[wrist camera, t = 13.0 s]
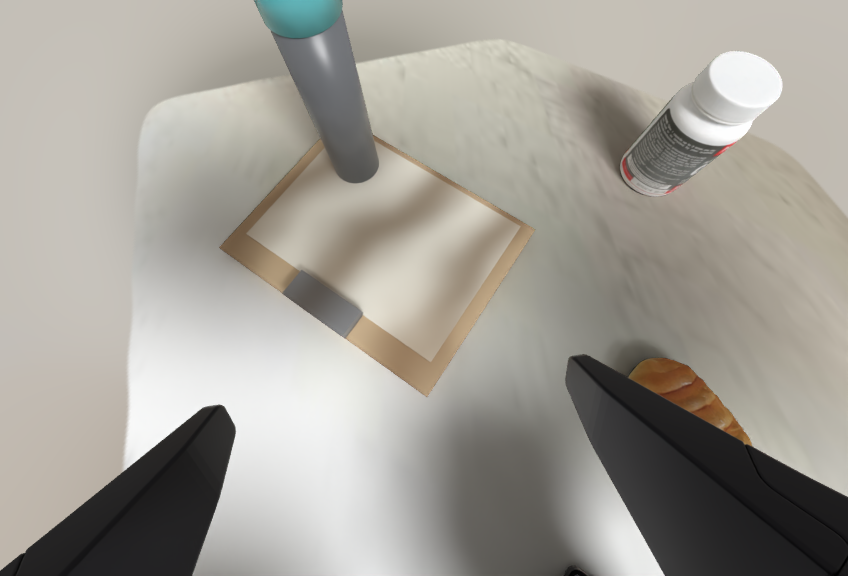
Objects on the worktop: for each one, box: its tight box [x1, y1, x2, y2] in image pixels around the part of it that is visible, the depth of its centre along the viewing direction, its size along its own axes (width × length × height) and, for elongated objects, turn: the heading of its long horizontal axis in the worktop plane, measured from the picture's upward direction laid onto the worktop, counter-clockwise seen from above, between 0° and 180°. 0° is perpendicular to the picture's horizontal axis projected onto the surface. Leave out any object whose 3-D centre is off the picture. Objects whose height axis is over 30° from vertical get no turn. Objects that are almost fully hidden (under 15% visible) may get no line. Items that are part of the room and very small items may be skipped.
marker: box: [254, 0, 379, 183], centre depth 19 cm, size 4×4×14 cm
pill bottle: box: [620, 51, 782, 196], centre depth 22 cm, size 5×5×8 cm
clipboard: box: [219, 135, 535, 397], centre depth 24 cm, size 18×14×2 cm
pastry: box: [628, 358, 752, 446], centre depth 19 cm, size 9×7×4 cm
